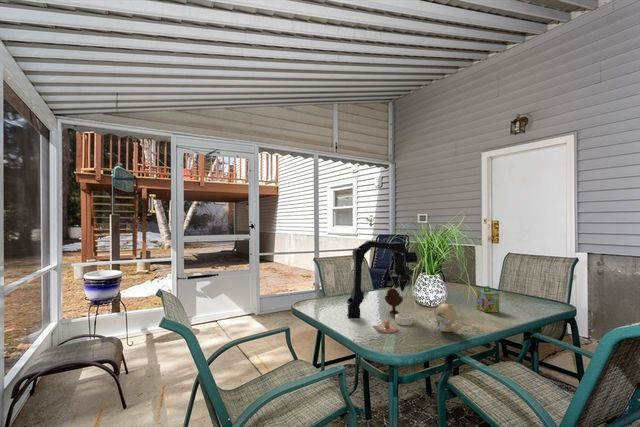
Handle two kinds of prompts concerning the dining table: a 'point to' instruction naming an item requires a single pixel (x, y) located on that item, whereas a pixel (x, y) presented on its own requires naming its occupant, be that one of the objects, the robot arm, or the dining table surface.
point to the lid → (387, 327)
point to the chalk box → (487, 300)
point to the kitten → (446, 317)
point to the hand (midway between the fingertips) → (399, 289)
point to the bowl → (404, 319)
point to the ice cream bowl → (393, 299)
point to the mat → (386, 333)
